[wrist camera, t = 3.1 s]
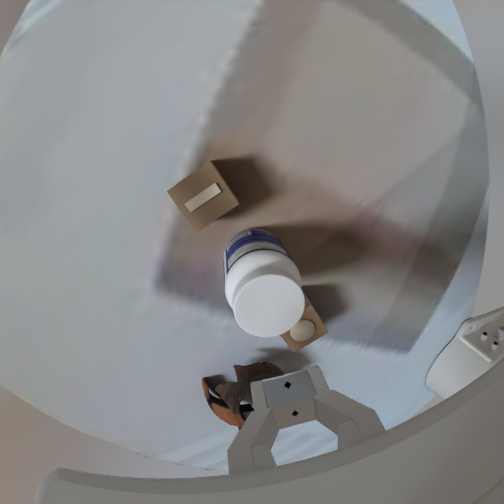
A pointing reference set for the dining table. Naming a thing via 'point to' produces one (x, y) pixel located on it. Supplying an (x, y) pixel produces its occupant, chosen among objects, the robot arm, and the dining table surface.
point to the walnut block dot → (305, 328)
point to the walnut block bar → (203, 196)
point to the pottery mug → (238, 392)
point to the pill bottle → (262, 283)
